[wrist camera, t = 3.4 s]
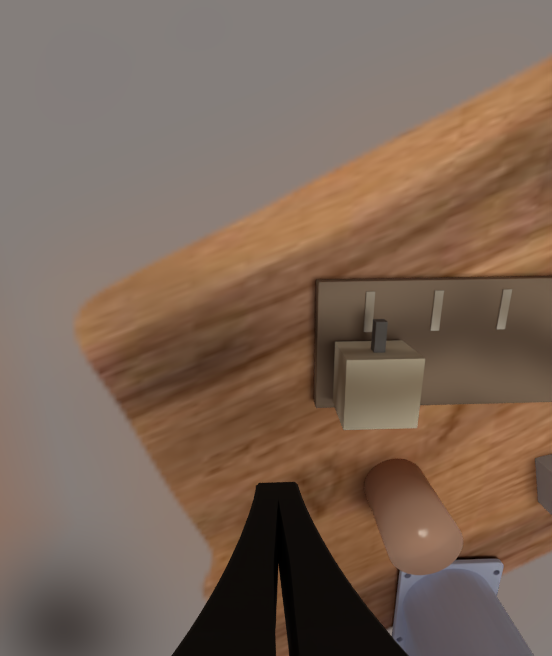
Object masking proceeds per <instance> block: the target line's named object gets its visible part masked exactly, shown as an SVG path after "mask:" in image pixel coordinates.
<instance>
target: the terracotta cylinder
mask: <svg viewBox="0 0 552 656" xmlns="http://www.w3.org/2000/svg"><path fill="white" fill-rule="evenodd" d="M364 491H365V495H366V497H367V500H368V503H369V505H370V508H371V511H372V513H373V516H374V518H375V521H376V524H377V526H378V529H379V532H380V534H381V537H382V540H383V542H384V545H385V548H386V550H387V553H388V555H389V558H390V560H391V562H392V563H393V565H394V566H395V567H396V568H398V569H399V570H401V571H403V572H405V573H408V574H412V575H428V574H433V573H436V572H439V571H441V570H443V569H445V568H446V567H448V566H449V565H450V564H452V563H453V562H454V561H455V560H456V558H457V557H458V556H459V554H460V552H461V550H462V546H463V536H462V533H461V531H460V529H459V528H458V526H457V525H456V523H455V522H454V520H453V518H452V517H451V515H450V514H449V512H448V511H447V509H446V508H445V506H444V505H443V503H442V502H441V500H440V499H439V497H438V495H437V494H436V492H435V491H434V489H433V488H432V486H431V485H430V483H429V482H428V480H427V479H426V477H425V476H424V474H423V472H422V471H421V469H420V468H419V467H418V466H417V465H416V464H414V463H413V462H411V461H408V460H405V459H391V460H387V461H384V462H382V463H380V464H378V465H377V466H375V467H374V468H373V469H372V470H371V471H370V472H369V474H368V475H367V477H366V479H365V483H364Z"/></svg>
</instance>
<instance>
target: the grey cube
mask: <svg viewBox="0 0 552 656" xmlns="http://www.w3.org/2000/svg"><path fill="white" fill-rule="evenodd" d="M535 465H536V479H537V493H538V502H539V503H540V504H541V505H542V506H543V507H544V508H545V509H546V510H547V511H548V512H549V513H550V514H551V515H552V454H550V455H546V456H542V457H538V458H535Z"/></svg>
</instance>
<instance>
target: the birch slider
mask: <svg viewBox="0 0 552 656" xmlns="http://www.w3.org/2000/svg"><path fill="white" fill-rule="evenodd" d="M387 326H388V322H387V321H386V320H385V319H373V324H372V338H371V341H344V342H335V357H334V383H333V405H334V407H335V410H336V412H337V415H338V417H339V420H340V422H341V425H342V428H343V430H361V429H398V428H417V425H418V416H419V408H420V400H421V391H422V383H423V374H424V366H425V358H424V357H423V356H421V355H420V354H419V353H418V352H416V351H415V350H414V349H413V348H411V347H410V346H409V345H407V344H406V343H405V342H404V341H402V340H393V341H386V338H387Z"/></svg>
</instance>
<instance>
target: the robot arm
mask: <svg viewBox="0 0 552 656" xmlns="http://www.w3.org/2000/svg"><path fill="white" fill-rule="evenodd" d="M278 563H279V571H280V580H281V588H282V597H283V605H284V613H285V621H286V630H287V638H288V647H289V656H534V654H533V653H532V651H531V650H530V648H529V647H528V645H527V644H526V642H525V640H524V639H523V637H522V636H521V634H520V632H519V631H518V629H517V628H516V626H515V625H514V623H513V621H512V620H511V618H510V617H509V615H508V614H507V612H506V610H505V609H504V607H503V606H502V604H501V602H500V601H499V599H498V598H497V593H498V588H499V584H500V579H501V575H502V571H503V564H502V562H501V561H500V560H499V559H495V558H494V559H466V560H455V561H454V562H453V563H452V564H450V565H449V566H448V567H446V568H445V569H443V570H441V571H439V572H436V573H433V574H428V575H412V574H408V573H405V572H403V571H401V570H400V572H399V580H398V589H397V597H396V606H395V614H394V623H393V632H392V636H391V635H390V634H389V633H388V631H387V630H386V629H385V628H384V627H383V625H382V624H381V623H380V622H379V621H378V619H377V618H376V617H375V616H374V614H373V613H372V612H371V611H370V610H369V608H368V607H367V606H366V604H365V603H364V602H363V600H362V599H361V598H360V596H359V595H358V594H357V592H356V591H355V590H354V588H353V587H352V585H351V584H350V583H349V581H348V580H347V578H346V577H345V575H344V574H343V572H342V571H341V569H340V568H339V566H338V565H337V563H336V562H335V560H334V558H333V557H332V555H331V553H330V552H329V550H328V548H327V547H326V545H325V543H324V541H323V540H322V538H321V536H320V534H319V532H318V530H317V528H316V527H315V525H314V523H313V521H312V519H311V517H310V515H309V512H308V510H307V508H306V506H305V503H304V501H303V499H302V496H301V493H300V490H299V487H298V484H296V483H295V482H276V483H259V484H258V485H257V486H256V491H255V495H254V500H253V503H252V506H251V510H250V513H249V516H248V518H247V521H246V524H245V526H244V529H243V531H242V534H241V536H240V539H239V541H238V543H237V545H236V548H235V550H234V552H233V554H232V556H231V558H230V561H229V563H228V565H227V567H226V569H225V571H224V573H223V575H222V576H221V578H220V580H219V582H218V584H217V586H216V587H215V589H214V591H213V593H212V595H211V596H210V598H209V600H208V601H207V603H206V605H205V606H204V608H203V610H202V611H201V613H200V614H199V616H198V618H197V619H196V621H195V622H194V624H193V626H192V627H191V629H190V630H189V632H188V633H187V635H186V636H185V637H184V639H183V640H182V642H181V643H180V645H179V646H178V648H177V649H176V650H175V652H174V653H173V654H172V656H276V643H275V628H276V606H277V584H278Z"/></svg>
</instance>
